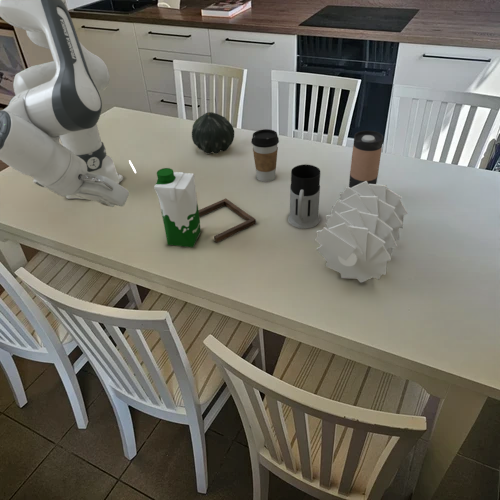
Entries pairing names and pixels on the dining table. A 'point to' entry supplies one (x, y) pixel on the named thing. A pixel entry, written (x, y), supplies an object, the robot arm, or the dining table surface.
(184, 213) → the soya milk
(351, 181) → the travel mug
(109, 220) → the dining table surface
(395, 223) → the spiral staircase
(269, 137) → the coffee cup
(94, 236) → the dining table surface
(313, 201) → the glass holder
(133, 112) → the dining table surface
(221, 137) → the squash
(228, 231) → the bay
